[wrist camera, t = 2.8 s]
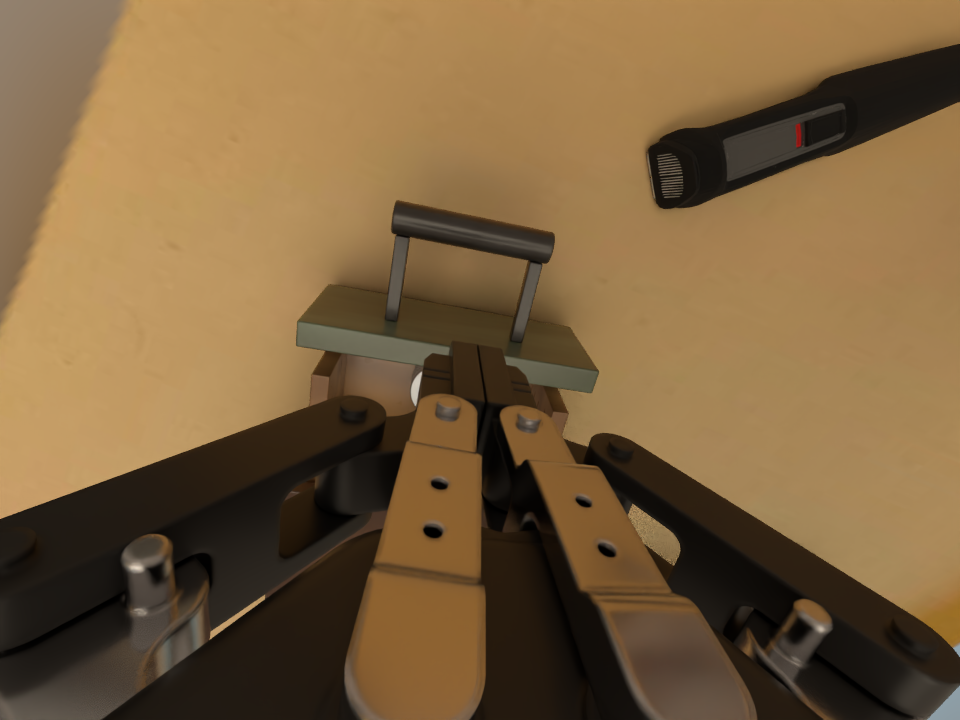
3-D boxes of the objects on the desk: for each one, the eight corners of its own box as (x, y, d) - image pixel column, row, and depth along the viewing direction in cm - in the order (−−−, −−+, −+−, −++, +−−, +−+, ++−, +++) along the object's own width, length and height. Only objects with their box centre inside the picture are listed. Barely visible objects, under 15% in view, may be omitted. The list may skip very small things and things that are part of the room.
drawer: (337, 177, 23) (304, 188, 18) (598, 232, 25) (639, 257, 20) (309, 510, 31) (282, 584, 26) (508, 532, 33) (519, 606, 28)
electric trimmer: (947, 112, 25) (1015, 108, 22) (655, 213, 25) (682, 221, 23) (955, 29, 23) (1028, 12, 20) (643, 139, 24) (671, 138, 21)
